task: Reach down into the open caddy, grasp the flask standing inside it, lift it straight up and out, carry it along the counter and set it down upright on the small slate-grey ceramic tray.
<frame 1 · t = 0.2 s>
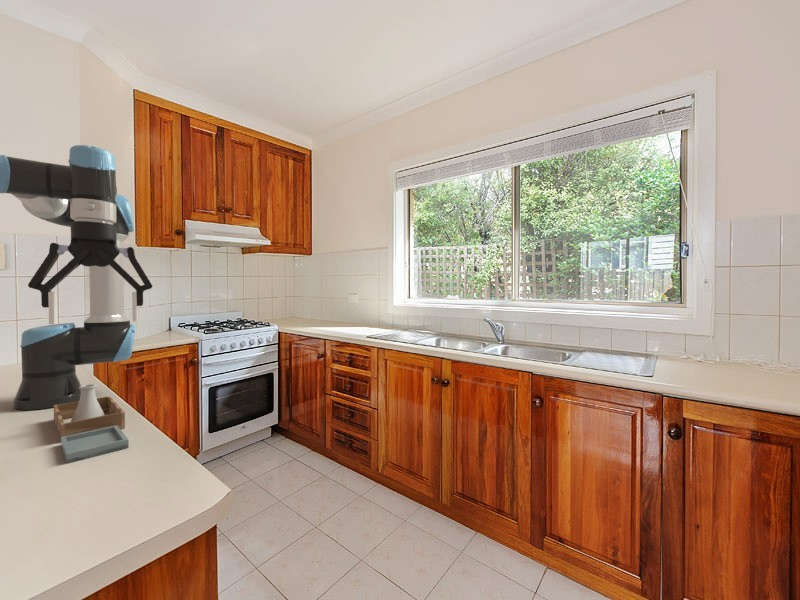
hand: (96, 322, 79), 27 cm above the countertop, fingers open, 13 cm apart
caddy: (88, 424, 93), on the countertop
flask: (88, 425, 93), resting in caddy
tray: (94, 446, 81), on the countertop
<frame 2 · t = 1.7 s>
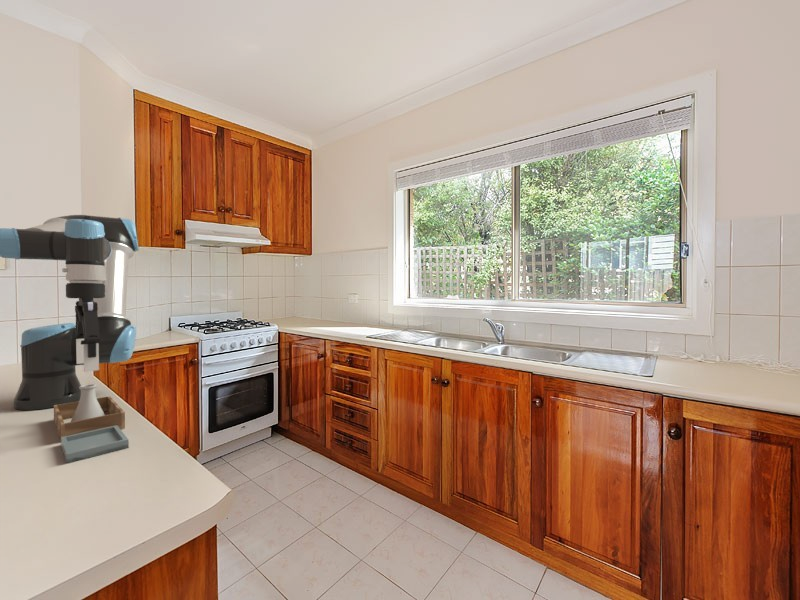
hand: (87, 366, 93), 15 cm above the countertop, fingers open, 13 cm apart
nothing on the countertop moved.
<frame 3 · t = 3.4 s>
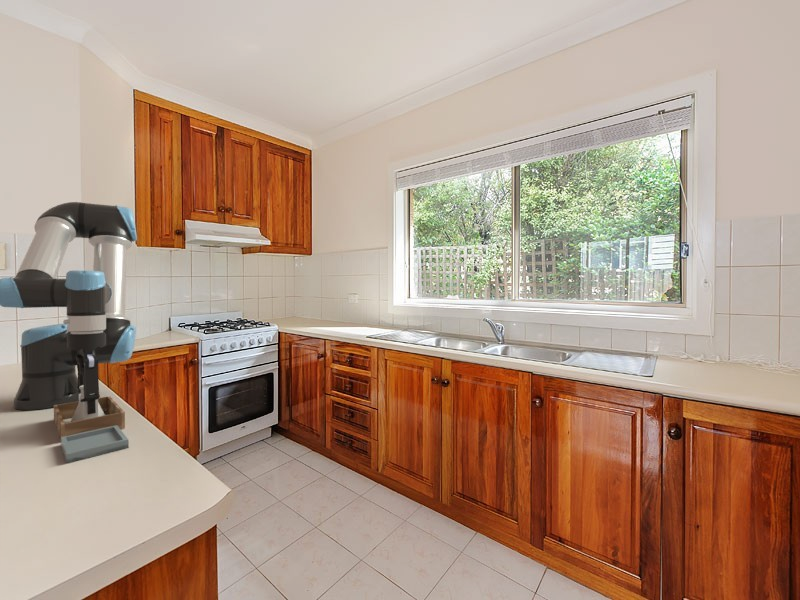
hand: (88, 421, 93), 1 cm above the countertop, fingers closed on flask, 7 cm apart
flask: (88, 425, 93), resting in caddy, touching gripper
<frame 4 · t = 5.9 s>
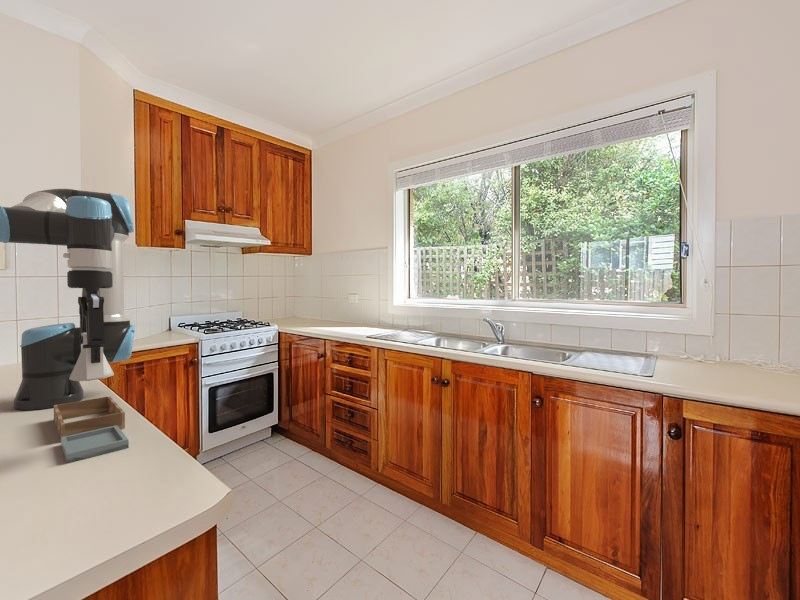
hand: (92, 375, 80), 16 cm above the countertop, fingers closed on flask, 7 cm apart
flask: (92, 379, 80), point 15 cm above the countertop, touching gripper
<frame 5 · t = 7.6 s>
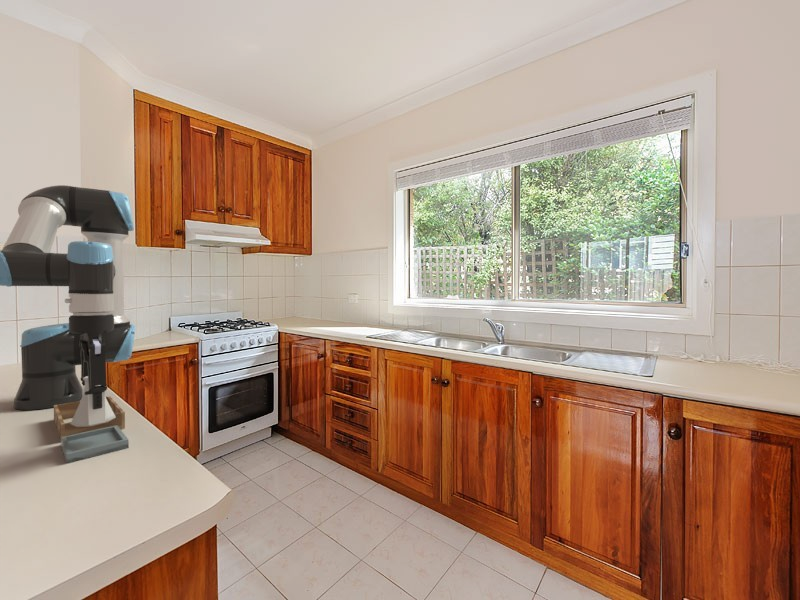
hand: (93, 418, 80), 6 cm above the countertop, fingers closed on flask, 7 cm apart
flask: (93, 422, 80), point 5 cm above the countertop, touching gripper
when the fingers open (3 cm above the countertop, at t = 8.6 s): flask drops 1 cm, resting on tray.
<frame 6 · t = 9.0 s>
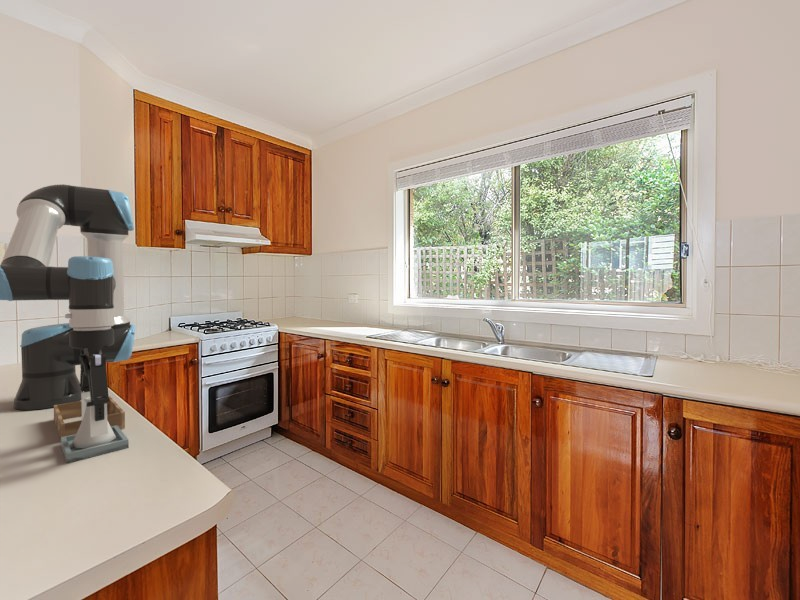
hand: (94, 427, 81), 4 cm above the countertop, fingers open, 12 cm apart
flask: (94, 443, 81), point 1 cm above the countertop, touching tray
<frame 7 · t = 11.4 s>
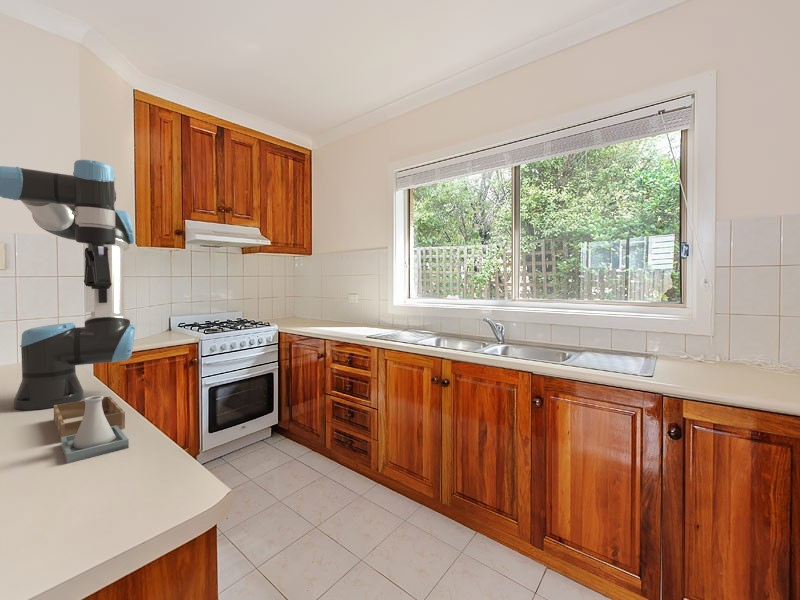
hand: (97, 314, 91), 28 cm above the countertop, fingers open, 13 cm apart
nothing on the countertop moved.
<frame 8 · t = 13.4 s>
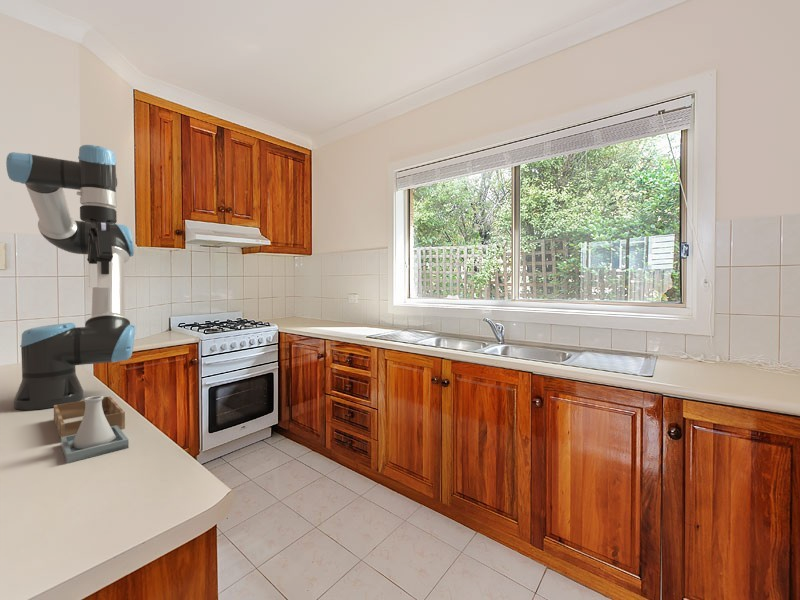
hand: (99, 287, 98), 35 cm above the countertop, fingers open, 13 cm apart
nothing on the countertop moved.
at the end: flask inside the target area on the tray (0.1 cm from its centre), point 0.6 cm above the tray's base; flask tilted 0°; the gripper is holding nothing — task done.
